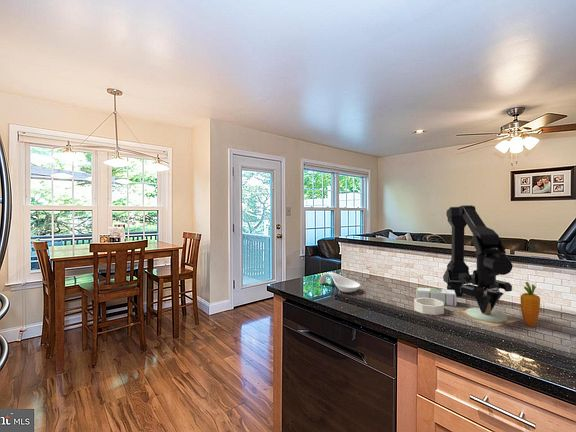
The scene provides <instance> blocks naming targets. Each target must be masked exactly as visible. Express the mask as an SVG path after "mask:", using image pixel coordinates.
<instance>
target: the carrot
mask: <svg viewBox="0 0 576 432" xmlns="http://www.w3.org/2000/svg"><path fill="white" fill-rule="evenodd" d="M530 285H531V286H530ZM536 288H537V286H536V285H535V284H530V283H529V282H528V281H526V282H525V286H523V289H524V290H525V291H526V292H524V293H522V294H521V295H520V311H521V315H522V319H523V321H524V323H525V325H526V326H528V327H530V328H533V327H534V326H535V324H536V323H537V321H538V319H539V315H540V312H541V311H540V310H541V309H540V308H541V298H540V296H539V295H537V294H535V290H536Z"/></svg>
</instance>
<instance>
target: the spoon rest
mask: <svg viewBox="0 0 576 432" xmlns="http://www.w3.org/2000/svg"><path fill="white" fill-rule="evenodd" d="M328 276H330V277H331V278H332V280H333V282H334V284H335V286H336V288H337V289H338V290H340V292H342V293H347V294H350V293H354V292H357V291H358V290H359V289H360V288H361V286H362V285H361V284H360V283H359V282H358V281H355V280H353V279H350V278H347V277H345V276H342V275H340V274H339V273H336V272H332V271H331V272H330V271H329V272H326V273H323V274H322V275H321V276H320V278H319V280H318V281H319V282H318V285H324V284H326V283H327V277H328Z"/></svg>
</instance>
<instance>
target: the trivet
mask: <svg viewBox="0 0 576 432" xmlns="http://www.w3.org/2000/svg"><path fill="white" fill-rule="evenodd" d="M466 310H467V309H466ZM466 310H460V311H455V312H454V314H457V315H459V316H462V317H464V318H466V319H467V318H468V319H470V320H472V321H475V322H477V323H480V324H483V325H485V326H489V327H491V328H495V327H499V326H503V325H507V324H512V323H516V322H520V321H521V319H518V318H515V317H512V316H509V315H506V316H507V321H506V322H503V323H490V322H484V321H479V320H476V319H473V318H471V317H469V316H468V315H467V314H466Z"/></svg>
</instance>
